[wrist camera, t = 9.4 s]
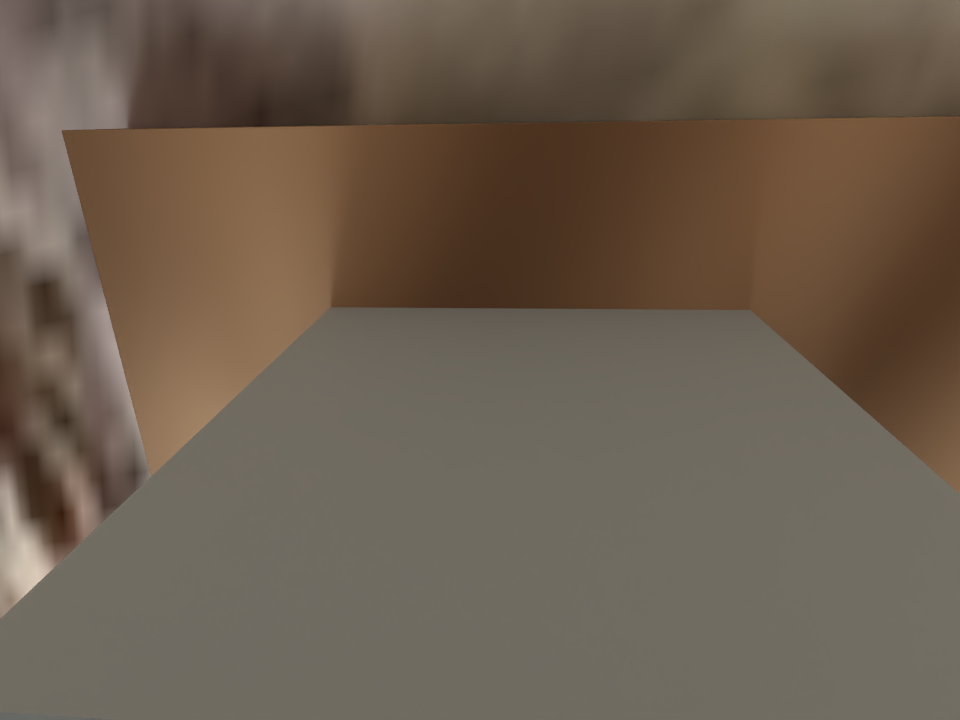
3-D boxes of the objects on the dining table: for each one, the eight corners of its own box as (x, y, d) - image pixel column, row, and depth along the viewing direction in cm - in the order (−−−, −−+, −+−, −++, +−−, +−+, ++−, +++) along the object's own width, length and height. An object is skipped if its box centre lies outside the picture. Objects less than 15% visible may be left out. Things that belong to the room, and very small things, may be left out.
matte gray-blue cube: (750, 310, 9) (1302, 795, 3) (698, 634, 11) (915, 1304, 5) (330, 307, 10) (-92, 706, 3) (366, 618, 12) (173, 1205, 6)
